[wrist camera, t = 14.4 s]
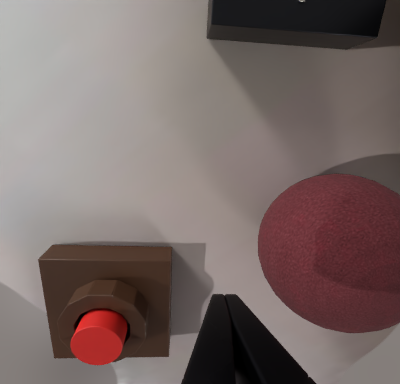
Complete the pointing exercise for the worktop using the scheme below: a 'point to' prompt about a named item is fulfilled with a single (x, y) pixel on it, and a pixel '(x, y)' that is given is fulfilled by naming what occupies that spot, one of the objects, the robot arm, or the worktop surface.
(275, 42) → the dial panel
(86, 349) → the power button
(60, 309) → the block
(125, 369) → the worktop surface
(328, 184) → the decorative ball
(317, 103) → the worktop surface
